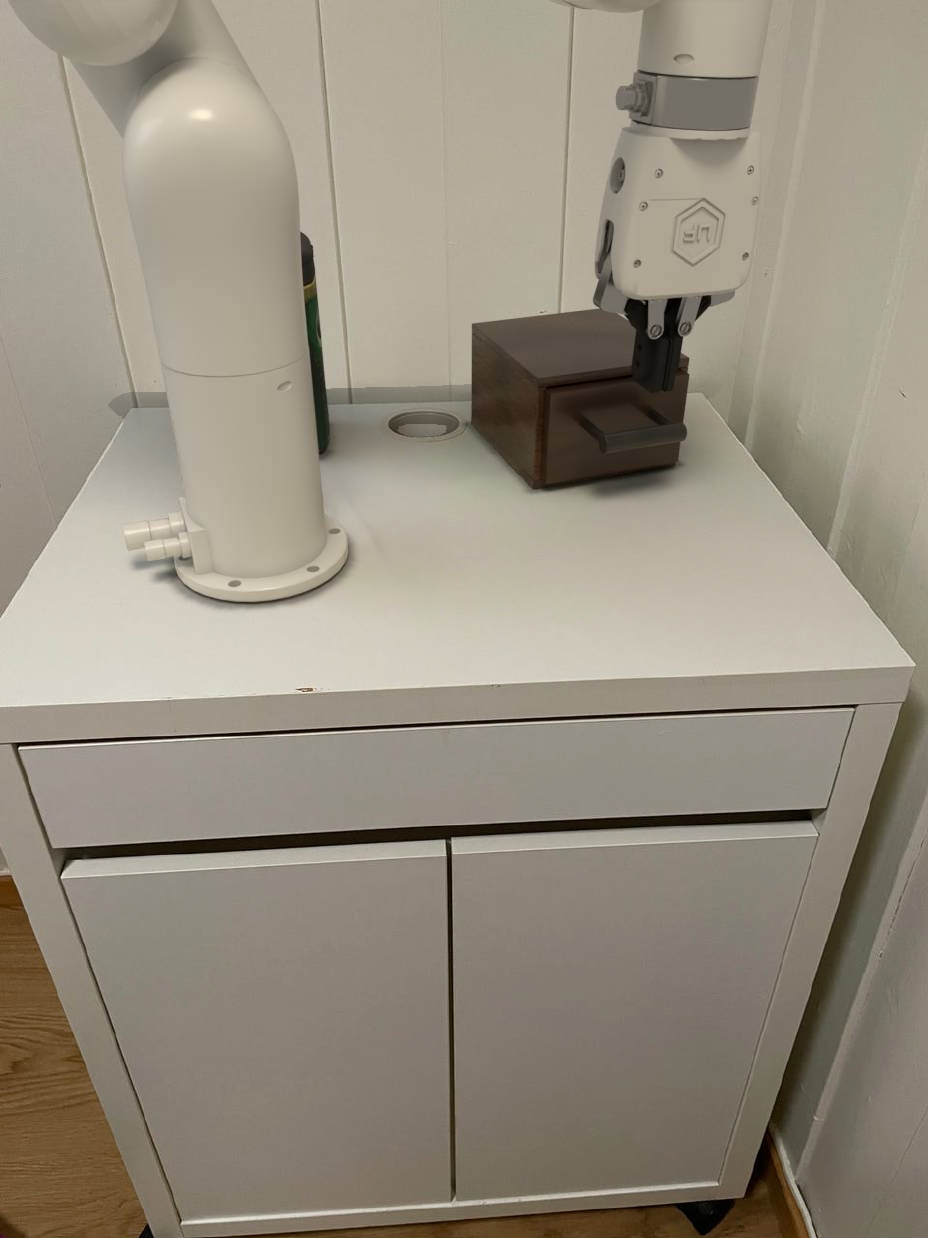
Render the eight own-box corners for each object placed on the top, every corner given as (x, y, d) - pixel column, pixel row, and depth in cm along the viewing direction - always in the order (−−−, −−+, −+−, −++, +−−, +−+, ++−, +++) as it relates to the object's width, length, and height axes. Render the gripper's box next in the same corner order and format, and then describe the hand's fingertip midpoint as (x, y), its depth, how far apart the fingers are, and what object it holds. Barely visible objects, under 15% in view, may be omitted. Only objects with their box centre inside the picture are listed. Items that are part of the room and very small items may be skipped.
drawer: (708, 485, 80) (722, 394, 76) (571, 510, 77) (577, 416, 72) (605, 405, 94) (612, 324, 90) (485, 423, 91) (486, 340, 86)
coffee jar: (244, 422, 93) (216, 216, 82) (328, 417, 94) (311, 213, 83) (241, 466, 85) (209, 244, 75) (332, 460, 86) (314, 240, 76)
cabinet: (675, 464, 85) (690, 357, 80) (533, 489, 81) (537, 378, 76) (599, 404, 97) (607, 307, 91) (471, 423, 93) (471, 323, 87)
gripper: (615, 115, 56) (583, 416, 67) (827, 112, 61) (767, 393, 71) (559, 99, 62) (538, 378, 72) (757, 97, 67) (711, 360, 77)
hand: (652, 385), depth 72 cm, fingers closed
